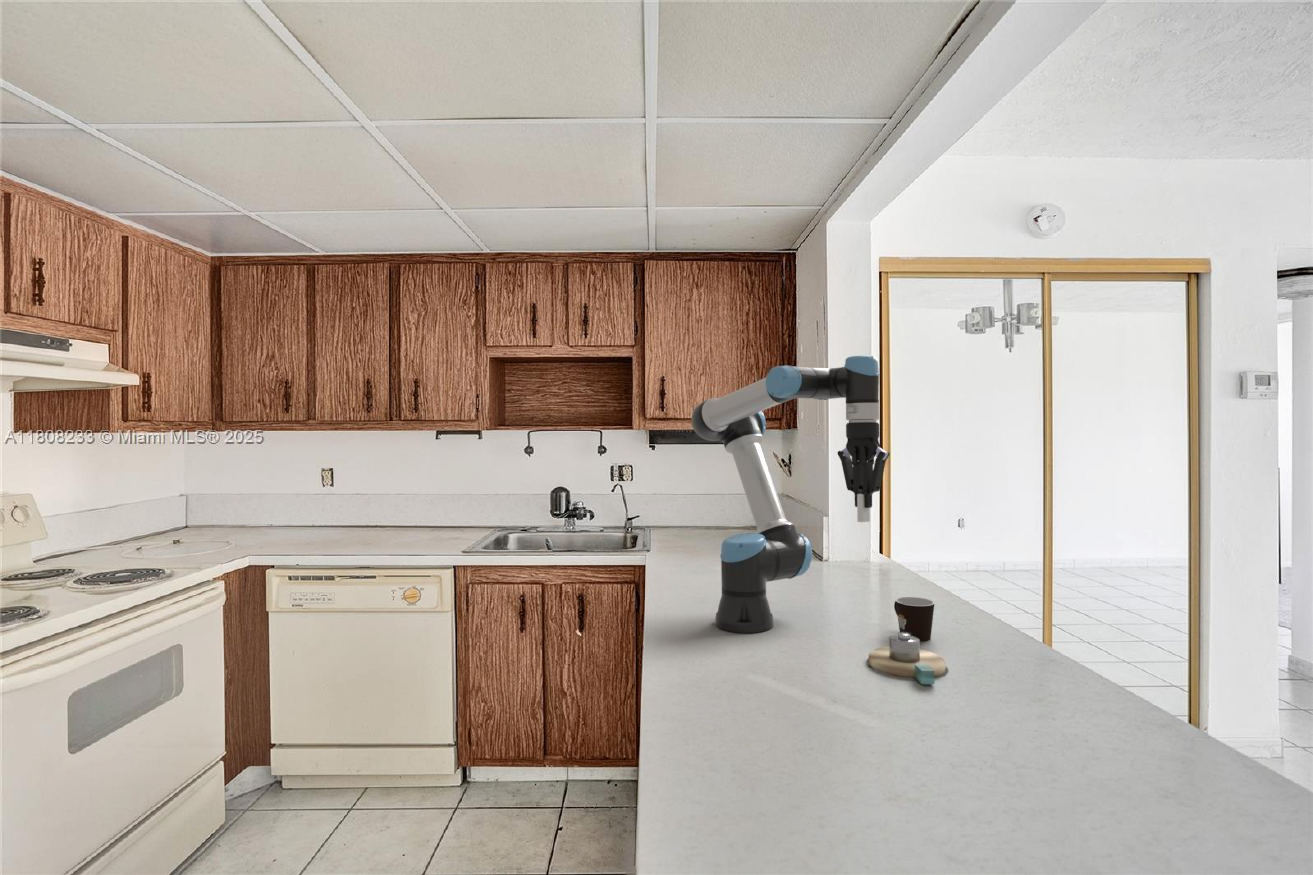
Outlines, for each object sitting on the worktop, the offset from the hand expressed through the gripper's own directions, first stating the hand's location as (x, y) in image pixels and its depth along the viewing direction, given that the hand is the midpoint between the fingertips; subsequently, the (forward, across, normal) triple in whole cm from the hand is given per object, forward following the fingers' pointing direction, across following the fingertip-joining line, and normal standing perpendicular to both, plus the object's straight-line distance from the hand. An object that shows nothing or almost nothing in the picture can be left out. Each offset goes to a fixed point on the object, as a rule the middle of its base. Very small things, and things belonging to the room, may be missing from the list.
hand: (863, 521), depth 154 cm
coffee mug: (+30, +6, +11) cm, 32 cm away
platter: (+28, +18, -10) cm, 34 cm away
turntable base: (+29, +16, -9) cm, 34 cm away
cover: (+26, +16, -9) cm, 32 cm away
